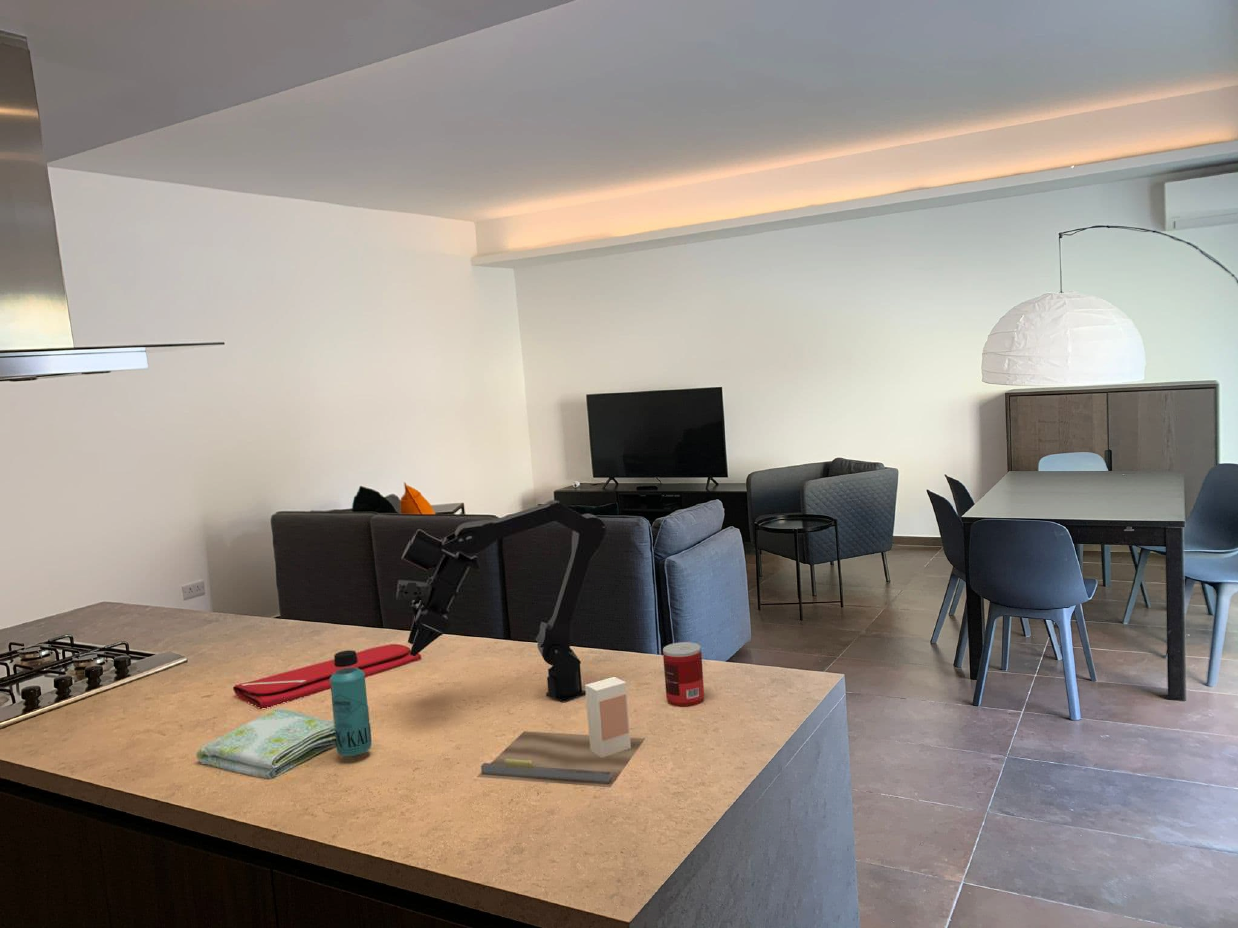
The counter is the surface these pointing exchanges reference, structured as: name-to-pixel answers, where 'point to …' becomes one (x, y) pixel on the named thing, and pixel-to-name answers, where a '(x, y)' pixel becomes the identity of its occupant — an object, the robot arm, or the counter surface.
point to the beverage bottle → (350, 706)
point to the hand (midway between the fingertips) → (410, 649)
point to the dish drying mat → (319, 676)
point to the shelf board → (564, 755)
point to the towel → (269, 744)
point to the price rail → (544, 772)
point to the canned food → (683, 674)
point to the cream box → (608, 716)
